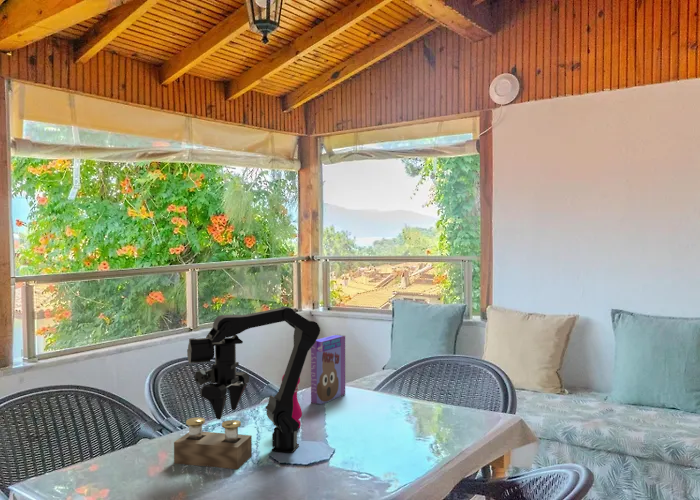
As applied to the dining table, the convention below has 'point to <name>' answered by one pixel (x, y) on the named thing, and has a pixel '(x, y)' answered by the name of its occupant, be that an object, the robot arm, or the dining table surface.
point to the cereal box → (327, 369)
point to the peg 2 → (231, 430)
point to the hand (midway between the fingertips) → (226, 414)
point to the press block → (213, 451)
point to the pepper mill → (296, 405)
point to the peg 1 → (195, 428)
